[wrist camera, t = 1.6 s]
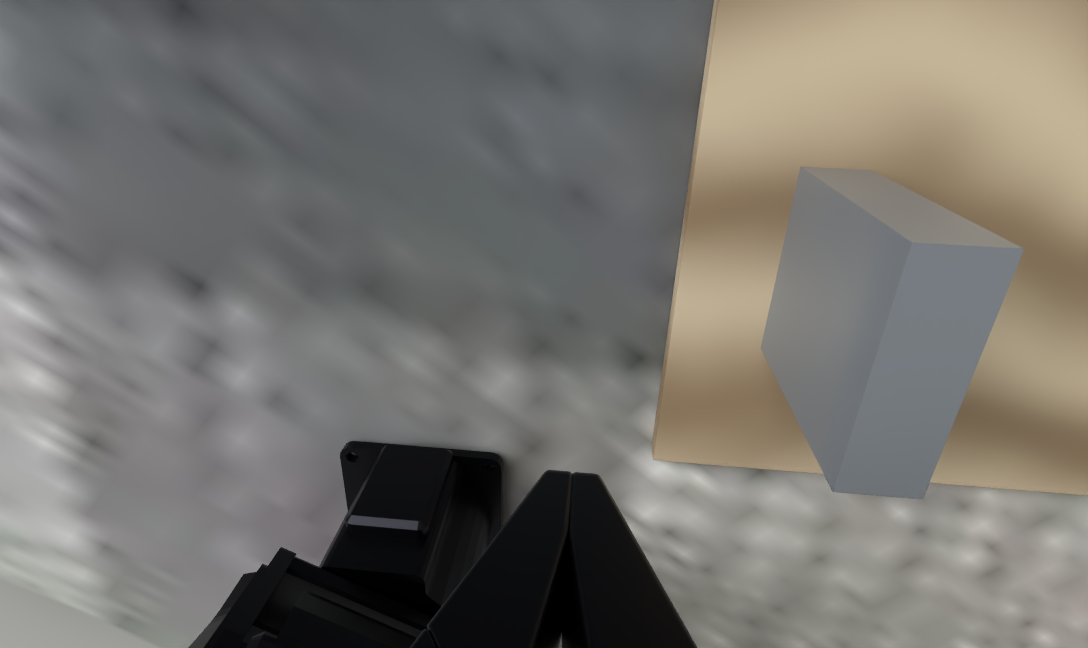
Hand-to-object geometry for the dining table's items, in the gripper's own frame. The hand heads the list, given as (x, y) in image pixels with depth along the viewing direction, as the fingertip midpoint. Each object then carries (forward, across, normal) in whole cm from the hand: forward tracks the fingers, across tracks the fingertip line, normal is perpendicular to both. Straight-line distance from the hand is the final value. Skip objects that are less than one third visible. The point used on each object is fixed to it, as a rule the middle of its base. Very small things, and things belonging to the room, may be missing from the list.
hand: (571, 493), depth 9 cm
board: (+12, -11, -1) cm, 16 cm away
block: (+11, -7, 0) cm, 13 cm away
